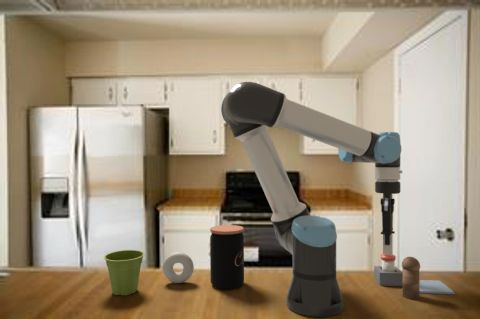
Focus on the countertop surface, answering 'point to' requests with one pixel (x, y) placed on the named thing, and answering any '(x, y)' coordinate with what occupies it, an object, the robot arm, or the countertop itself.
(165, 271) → the donut
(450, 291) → the tile
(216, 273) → the coffee jar
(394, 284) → the button collar
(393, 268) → the button plunger
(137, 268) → the plant pot
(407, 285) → the brown domed cylinder
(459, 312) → the countertop surface
